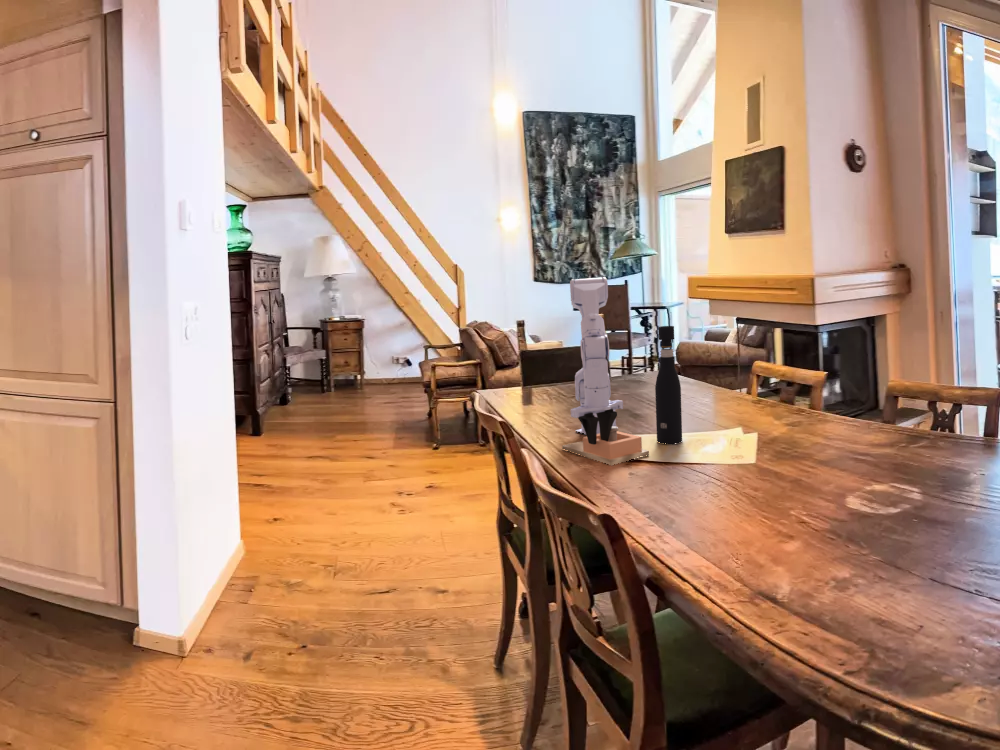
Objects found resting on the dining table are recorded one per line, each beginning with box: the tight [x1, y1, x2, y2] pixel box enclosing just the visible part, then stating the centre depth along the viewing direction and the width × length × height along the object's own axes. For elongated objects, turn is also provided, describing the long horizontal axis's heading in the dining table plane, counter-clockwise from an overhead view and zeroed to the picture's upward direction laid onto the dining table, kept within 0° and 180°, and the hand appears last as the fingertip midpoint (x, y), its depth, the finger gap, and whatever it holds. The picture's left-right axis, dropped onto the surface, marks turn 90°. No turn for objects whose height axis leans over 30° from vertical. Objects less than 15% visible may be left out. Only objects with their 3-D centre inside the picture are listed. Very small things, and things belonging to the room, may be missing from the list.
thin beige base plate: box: [561, 426, 650, 466], centre depth 158 cm, size 12×19×7 cm, turn 30°
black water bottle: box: [654, 325, 683, 445], centre depth 163 cm, size 6×6×30 cm
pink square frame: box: [582, 430, 643, 459], centre depth 155 cm, size 10×10×4 cm
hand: (598, 442), depth 153 cm, fingers open, 3 cm apart
